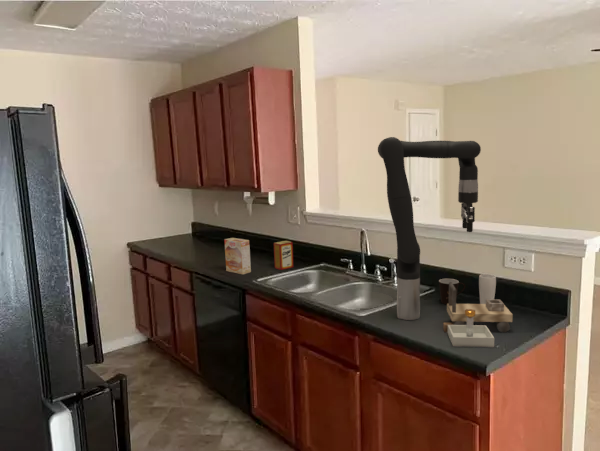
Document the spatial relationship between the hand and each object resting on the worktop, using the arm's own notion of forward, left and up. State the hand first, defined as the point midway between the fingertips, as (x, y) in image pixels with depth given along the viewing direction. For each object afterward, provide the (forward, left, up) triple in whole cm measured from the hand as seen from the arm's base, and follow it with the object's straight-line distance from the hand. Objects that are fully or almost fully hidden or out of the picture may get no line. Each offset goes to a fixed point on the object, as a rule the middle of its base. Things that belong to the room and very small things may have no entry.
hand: (467, 230), depth 197 cm
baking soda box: (-91, +79, -36) cm, 126 cm away
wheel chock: (-10, -19, -36) cm, 42 cm away
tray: (-4, -28, -36) cm, 46 cm away
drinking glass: (+10, +6, -36) cm, 38 cm away
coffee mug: (-3, +15, -36) cm, 39 cm away
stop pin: (-4, -27, -36) cm, 45 cm away
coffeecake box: (-117, +70, -36) cm, 141 cm away
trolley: (+2, -14, -36) cm, 39 cm away
